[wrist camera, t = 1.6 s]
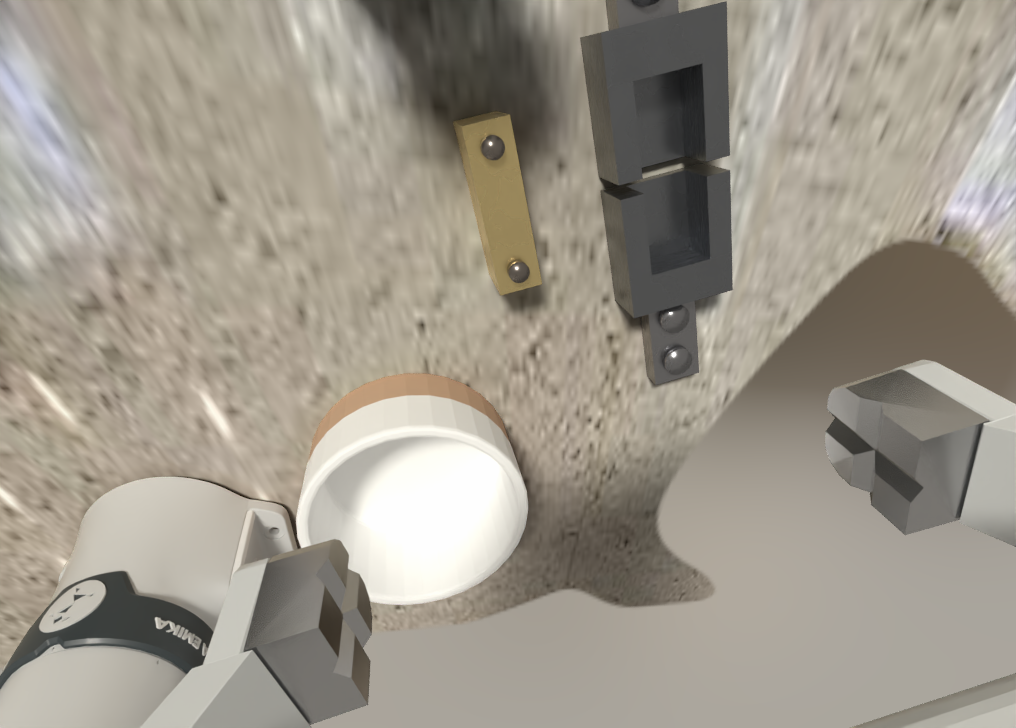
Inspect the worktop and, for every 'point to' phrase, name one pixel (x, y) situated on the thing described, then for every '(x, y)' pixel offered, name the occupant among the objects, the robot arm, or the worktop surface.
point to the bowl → (414, 488)
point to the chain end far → (670, 258)
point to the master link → (499, 200)
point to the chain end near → (657, 86)
